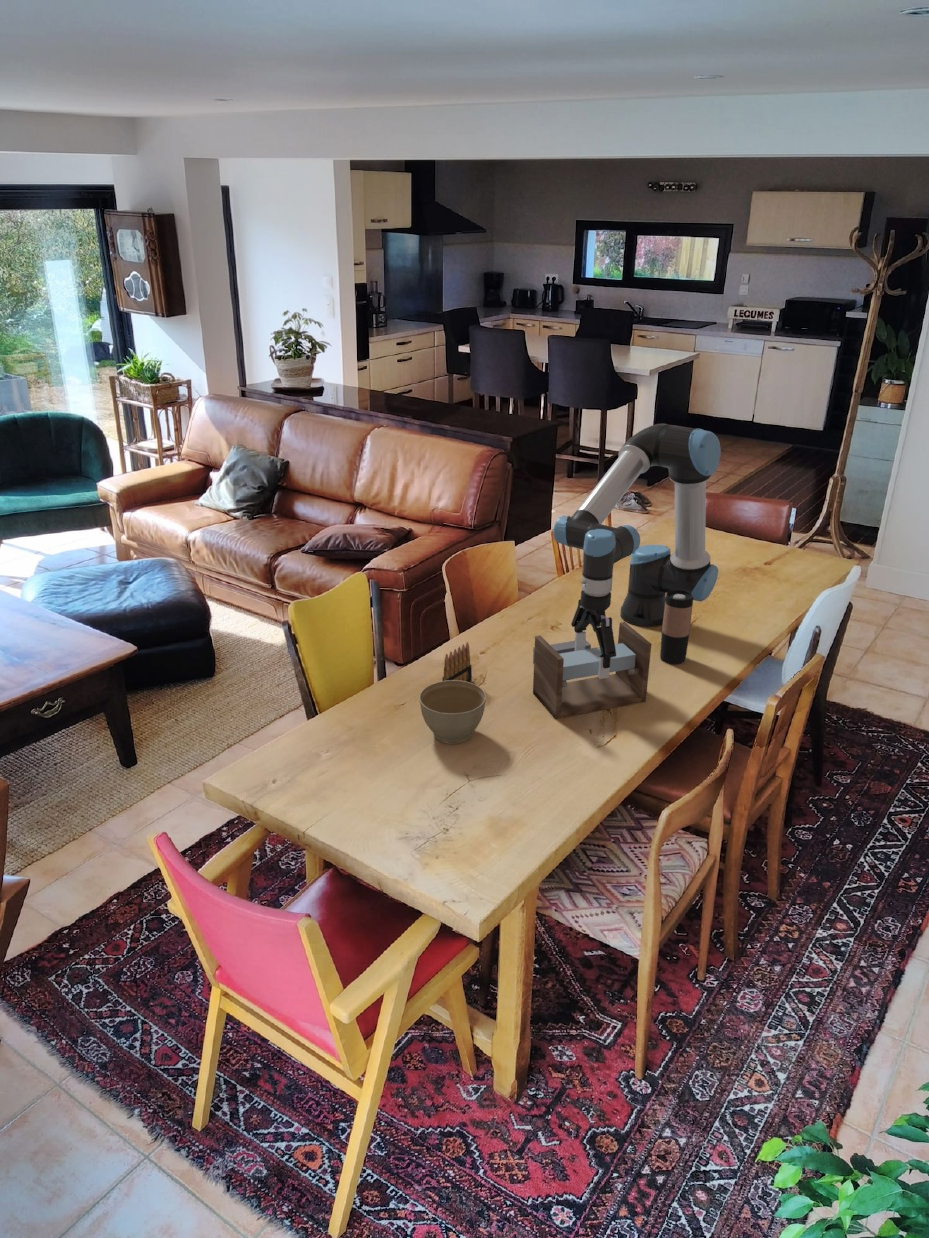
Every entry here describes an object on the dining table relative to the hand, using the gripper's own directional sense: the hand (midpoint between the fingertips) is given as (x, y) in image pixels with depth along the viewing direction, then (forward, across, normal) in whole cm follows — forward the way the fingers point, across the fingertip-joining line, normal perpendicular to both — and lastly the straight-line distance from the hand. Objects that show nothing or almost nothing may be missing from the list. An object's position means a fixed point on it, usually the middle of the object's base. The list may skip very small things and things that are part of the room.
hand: (591, 665), depth 238 cm
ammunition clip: (+10, -17, -31) cm, 37 cm away
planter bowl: (+10, +5, -40) cm, 42 cm away
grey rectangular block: (+10, -21, +2) cm, 23 cm away
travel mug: (+10, -12, +33) cm, 36 cm away
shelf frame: (+9, 0, 0) cm, 9 cm away
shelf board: (+1, 0, 0) cm, 1 cm away
